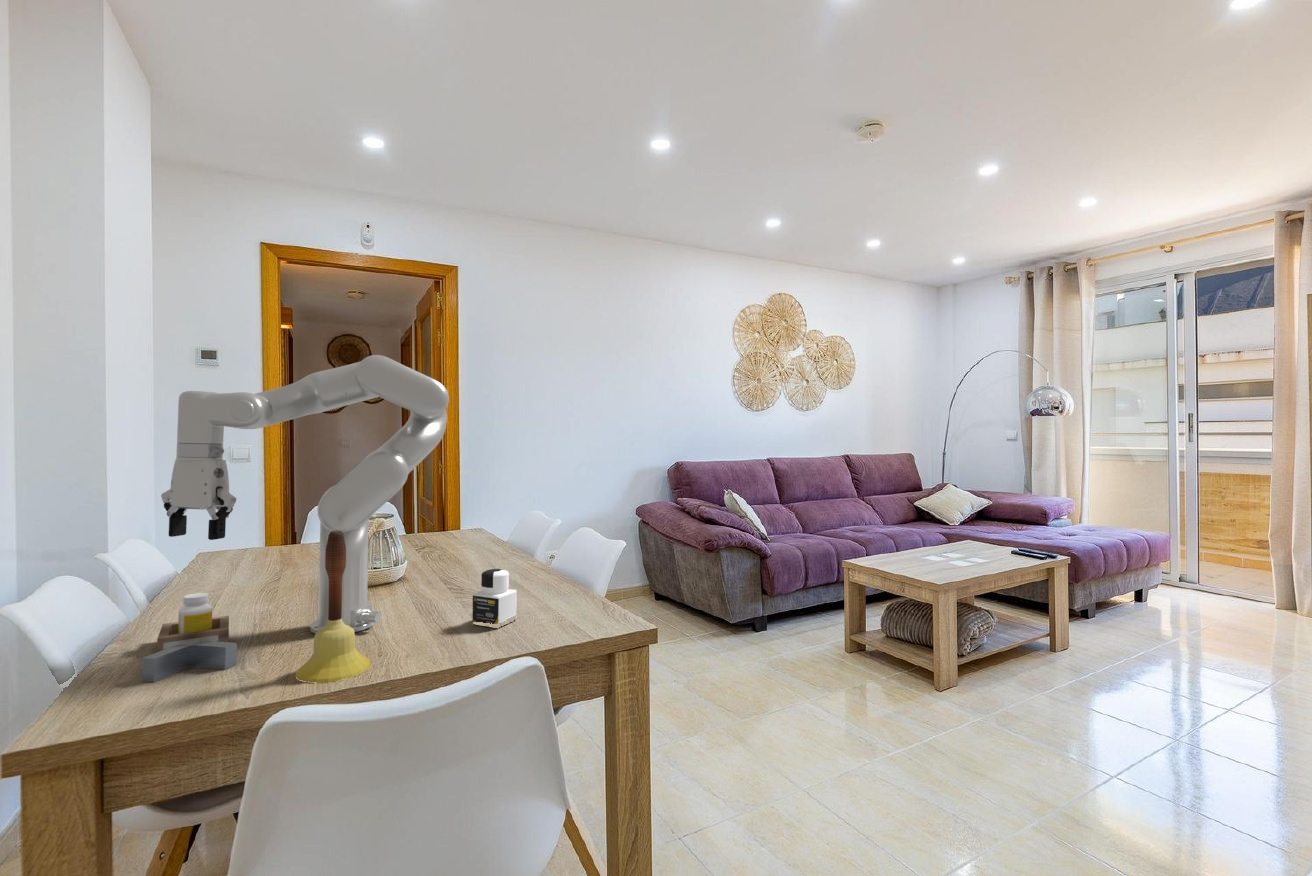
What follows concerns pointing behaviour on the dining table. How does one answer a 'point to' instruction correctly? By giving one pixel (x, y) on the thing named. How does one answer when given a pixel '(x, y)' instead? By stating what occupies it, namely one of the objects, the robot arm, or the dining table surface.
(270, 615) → the dining table surface
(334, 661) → the handbell
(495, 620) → the medicine bottle
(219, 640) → the sleeve block
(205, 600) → the supplement bottle
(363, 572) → the robot arm
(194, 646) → the v block
